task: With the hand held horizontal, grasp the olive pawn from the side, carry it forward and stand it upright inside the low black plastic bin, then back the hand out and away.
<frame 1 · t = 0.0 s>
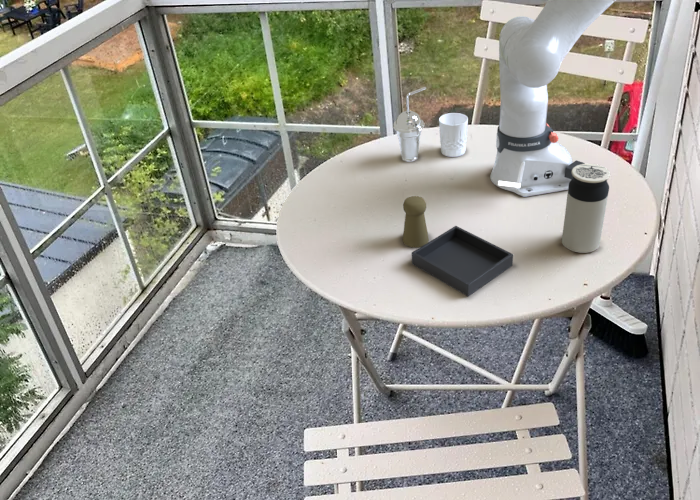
white cup: (453, 152, 184), on the table
travel mug: (580, 244, 145), on the table
olive pawn: (415, 240, 151), on the table
cup with straw: (410, 158, 184), on the table
bin: (461, 264, 142), on the table
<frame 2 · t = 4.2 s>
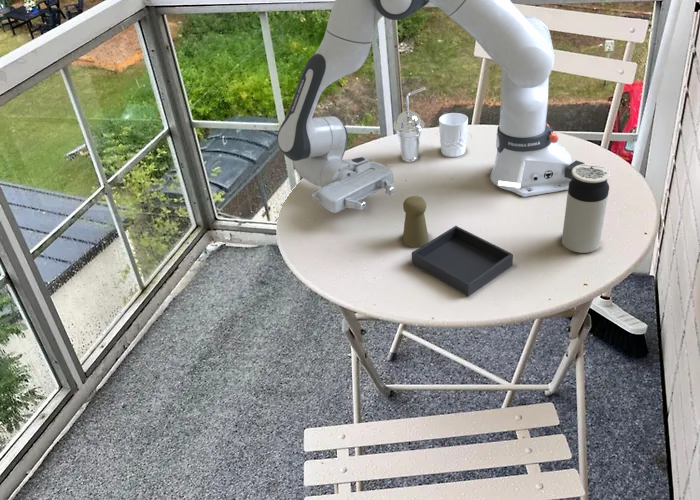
hand: (378, 198, 155), 6 cm above the table, tool horizontal, fingers open, 8 cm apart
nothing on the table moved.
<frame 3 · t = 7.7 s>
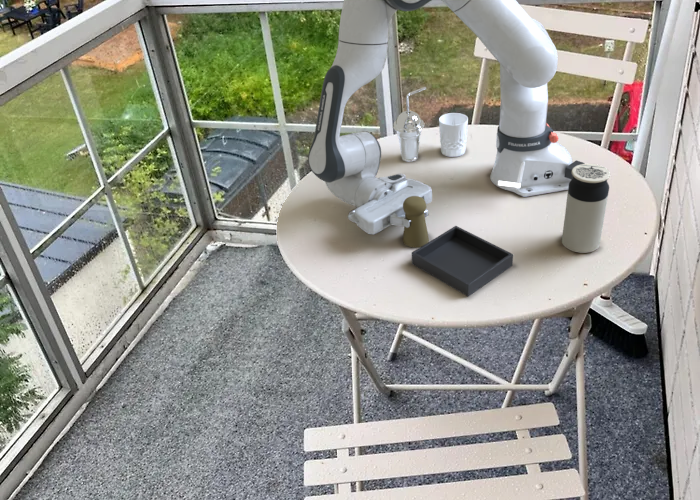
hand: (418, 219, 147), 6 cm above the table, tool horizontal, fingers closed on olive pawn, 4 cm apart
olive pawn: (415, 240, 151), on the table, touching gripper
everything else where it was.
when the fingers open (7 cm above the table, at t = 15.5 s): olive pawn stays where it is, resting on bin.
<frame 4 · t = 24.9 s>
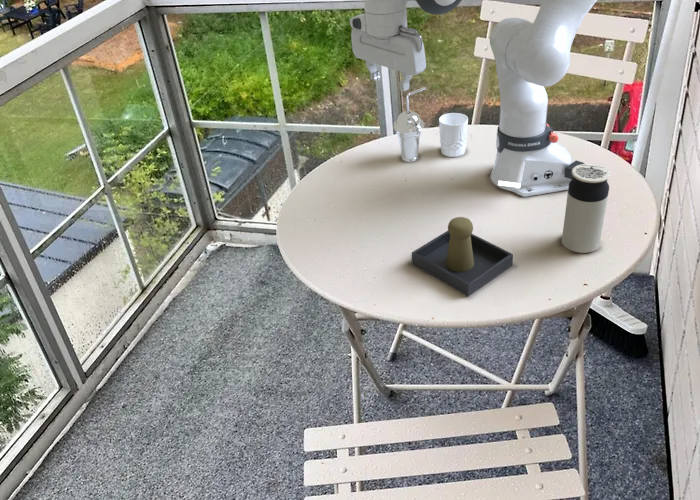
hand: (389, 84, 147), 31 cm above the table, tool pointing down, fingers open, 8 cm apart
olive pawn: (460, 264, 142), resting on bin
everything else where it was.
at the end: olive pawn inside the target area in the bin (0.3 cm from its centre), point 0.3 cm above the bin's base; olive pawn tilted 0°; the gripper is holding nothing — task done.
